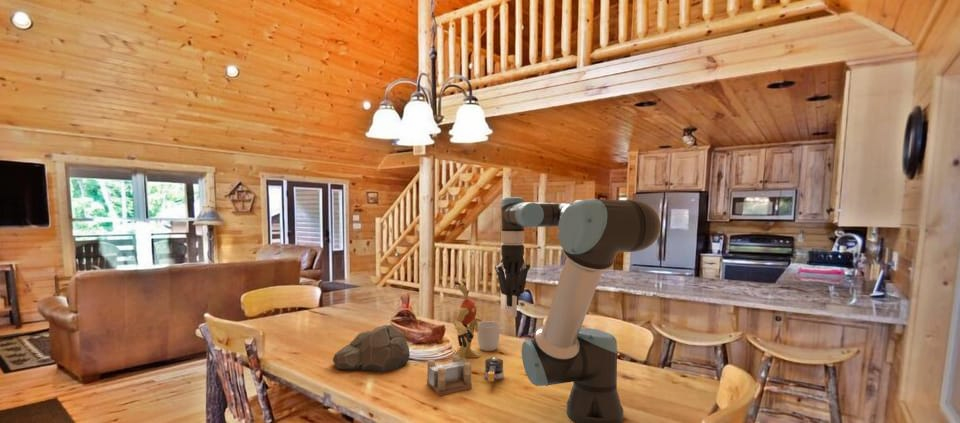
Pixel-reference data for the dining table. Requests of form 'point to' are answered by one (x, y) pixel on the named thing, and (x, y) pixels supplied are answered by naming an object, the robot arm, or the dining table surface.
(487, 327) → the mug
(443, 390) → the rack
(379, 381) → the dining table surface
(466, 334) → the toy
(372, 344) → the decorative rock
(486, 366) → the dark grey mechanical part
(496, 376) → the base
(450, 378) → the bar
